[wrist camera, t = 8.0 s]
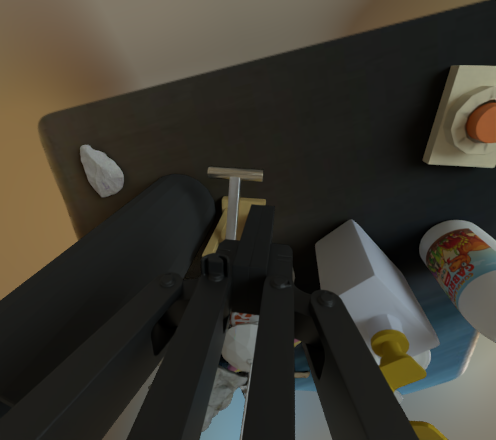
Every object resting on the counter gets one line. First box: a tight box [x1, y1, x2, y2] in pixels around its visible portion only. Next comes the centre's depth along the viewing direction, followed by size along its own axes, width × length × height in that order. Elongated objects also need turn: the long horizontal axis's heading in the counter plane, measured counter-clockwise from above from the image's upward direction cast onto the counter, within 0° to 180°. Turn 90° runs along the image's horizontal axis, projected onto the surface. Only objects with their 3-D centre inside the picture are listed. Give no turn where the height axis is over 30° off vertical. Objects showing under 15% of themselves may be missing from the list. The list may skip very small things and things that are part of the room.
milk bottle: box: [419, 220, 496, 343], centre depth 29 cm, size 8×8×20 cm
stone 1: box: [80, 145, 124, 197], centre depth 39 cm, size 6×8×2 cm
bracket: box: [202, 196, 266, 257], centre depth 35 cm, size 7×6×13 cm
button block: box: [422, 65, 496, 168], centre depth 30 cm, size 10×7×4 cm
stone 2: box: [148, 365, 248, 432], centre depth 49 cm, size 15×28×10 cm, turn 167°
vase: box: [0, 174, 216, 418], centre depth 28 cm, size 10×10×30 cm
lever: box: [208, 166, 264, 240], centre depth 31 cm, size 12×6×2 cm, turn 178°
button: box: [466, 103, 496, 143], centre depth 28 cm, size 4×4×2 cm
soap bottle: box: [315, 219, 448, 440], centre depth 31 cm, size 12×7×23 cm, turn 45°
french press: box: [221, 271, 295, 440], centre depth 34 cm, size 10×12×25 cm
